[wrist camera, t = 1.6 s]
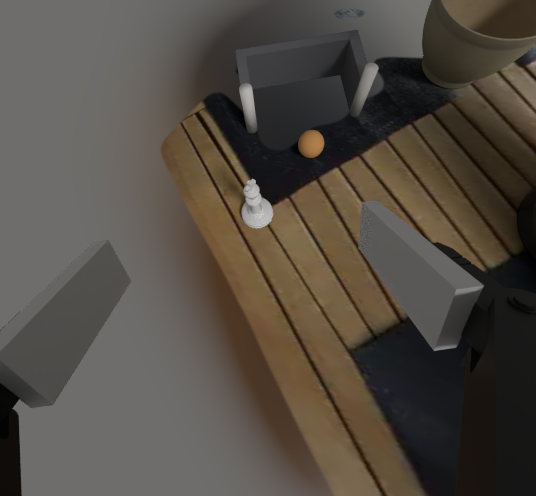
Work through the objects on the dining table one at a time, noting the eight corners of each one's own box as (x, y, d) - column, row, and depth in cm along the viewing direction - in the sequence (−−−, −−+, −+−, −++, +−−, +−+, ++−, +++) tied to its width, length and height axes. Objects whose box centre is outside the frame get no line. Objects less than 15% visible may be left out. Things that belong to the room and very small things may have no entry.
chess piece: (279, 209, 38) (278, 177, 29) (260, 234, 38) (253, 210, 28) (253, 192, 39) (244, 156, 29) (235, 217, 38) (219, 187, 29)
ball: (315, 137, 41) (318, 120, 37) (326, 157, 40) (330, 141, 36) (293, 146, 41) (294, 129, 37) (303, 166, 40) (306, 151, 36)
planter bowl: (385, 47, 44) (418, -35, 33) (469, 20, 44) (528, -69, 34) (426, 119, 40) (477, 53, 30) (517, 90, 41) (600, 15, 30)
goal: (361, 116, 41) (379, 72, 33) (247, 134, 42) (239, 94, 34) (347, 66, 43) (362, 14, 36) (240, 84, 44) (231, 36, 36)
